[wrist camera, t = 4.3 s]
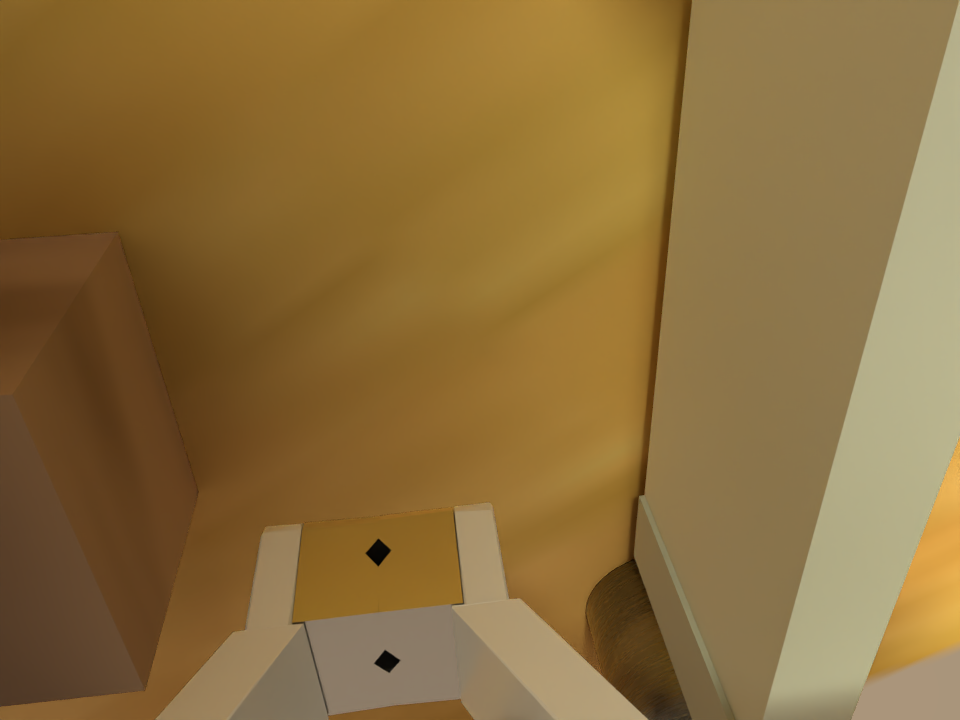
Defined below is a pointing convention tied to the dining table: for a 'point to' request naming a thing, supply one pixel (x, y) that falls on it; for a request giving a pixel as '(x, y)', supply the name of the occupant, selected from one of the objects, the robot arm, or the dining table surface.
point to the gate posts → (634, 645)
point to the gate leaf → (802, 346)
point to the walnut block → (83, 474)
